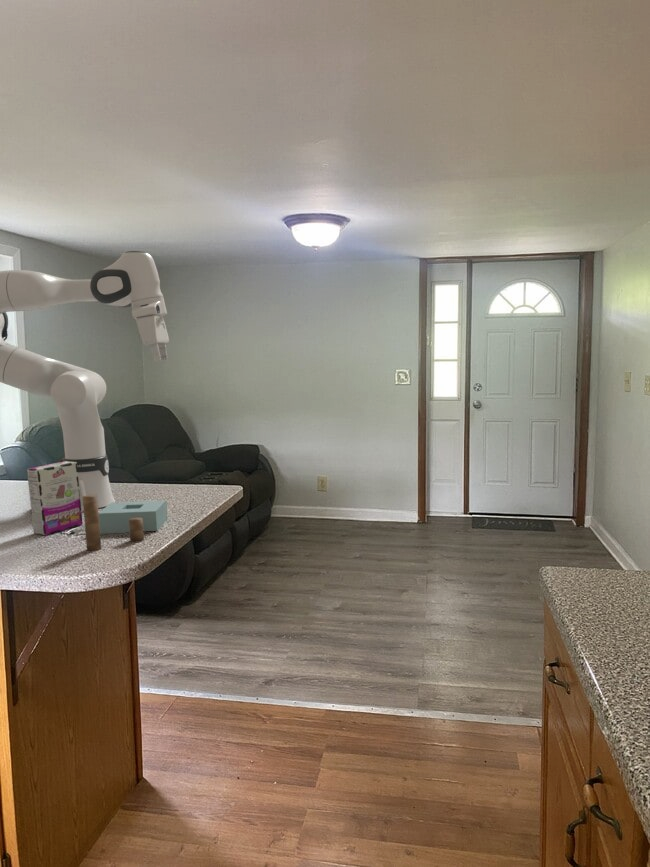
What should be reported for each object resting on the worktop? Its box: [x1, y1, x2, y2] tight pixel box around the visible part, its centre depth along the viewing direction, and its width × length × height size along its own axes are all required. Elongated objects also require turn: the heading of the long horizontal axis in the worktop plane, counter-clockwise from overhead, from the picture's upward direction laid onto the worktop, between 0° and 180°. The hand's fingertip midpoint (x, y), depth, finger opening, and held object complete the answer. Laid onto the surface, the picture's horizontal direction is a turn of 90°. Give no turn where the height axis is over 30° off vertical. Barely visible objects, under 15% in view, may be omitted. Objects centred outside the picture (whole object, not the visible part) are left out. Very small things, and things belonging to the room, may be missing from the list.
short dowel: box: [129, 517, 145, 543], centre depth 151 cm, size 3×3×5 cm
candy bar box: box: [26, 461, 84, 536], centre depth 163 cm, size 11×5×16 cm, turn 148°
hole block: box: [98, 499, 169, 535], centre depth 164 cm, size 14×12×5 cm
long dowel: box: [83, 495, 102, 552], centre depth 144 cm, size 3×3×12 cm
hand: (161, 360), depth 182 cm, fingers open, 8 cm apart
